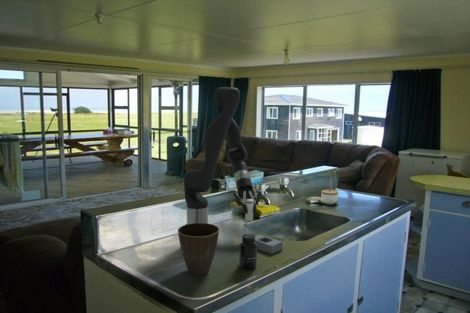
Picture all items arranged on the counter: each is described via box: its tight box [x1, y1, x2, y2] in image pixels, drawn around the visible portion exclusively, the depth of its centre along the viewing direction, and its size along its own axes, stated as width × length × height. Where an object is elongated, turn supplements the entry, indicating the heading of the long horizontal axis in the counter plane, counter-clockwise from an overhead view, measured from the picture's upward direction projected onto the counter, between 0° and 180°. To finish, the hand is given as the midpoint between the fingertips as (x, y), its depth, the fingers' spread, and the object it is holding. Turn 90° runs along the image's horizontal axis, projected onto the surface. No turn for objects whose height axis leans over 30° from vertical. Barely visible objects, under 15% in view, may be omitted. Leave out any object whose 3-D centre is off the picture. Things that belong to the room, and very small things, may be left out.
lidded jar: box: [320, 188, 339, 205], centre depth 235 cm, size 11×11×9 cm
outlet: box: [254, 234, 283, 255], centre depth 156 cm, size 7×13×4 cm, turn 46°
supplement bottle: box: [238, 233, 258, 271], centre depth 137 cm, size 7×7×12 cm
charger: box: [244, 199, 254, 222], centre depth 166 cm, size 4×4×10 cm
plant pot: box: [177, 223, 220, 276], centre depth 132 cm, size 15×15×16 cm
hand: (250, 212), depth 164 cm, fingers closed on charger, 3 cm apart
